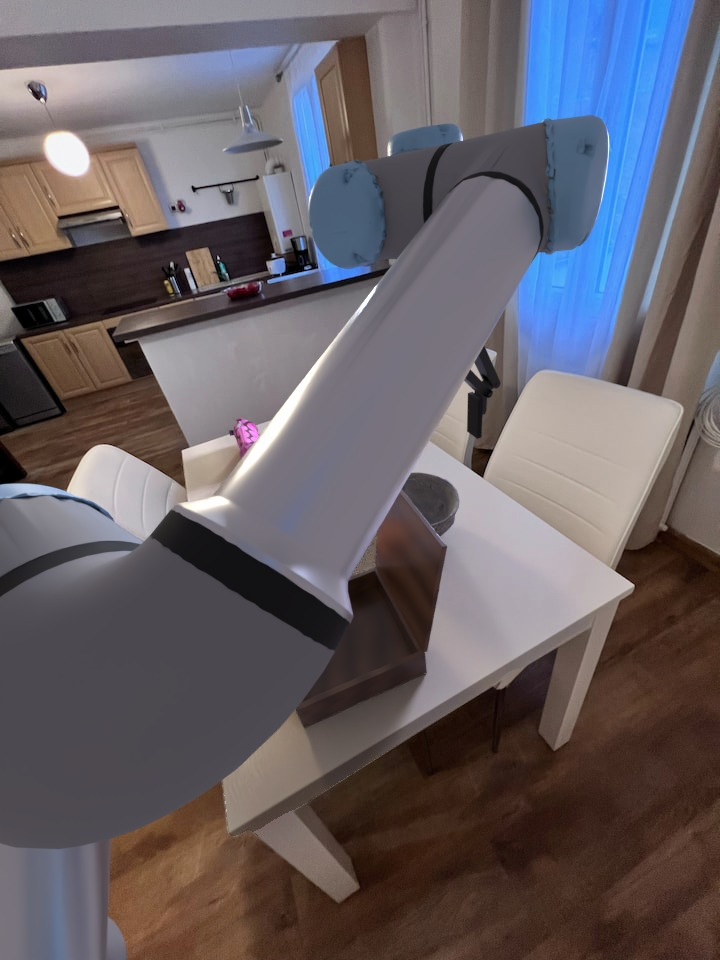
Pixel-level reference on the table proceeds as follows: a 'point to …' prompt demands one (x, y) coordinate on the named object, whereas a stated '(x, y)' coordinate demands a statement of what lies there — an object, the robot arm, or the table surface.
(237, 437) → the pencil case
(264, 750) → the table surface
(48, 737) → the robot arm
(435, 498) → the bowl
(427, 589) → the lid
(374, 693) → the box
